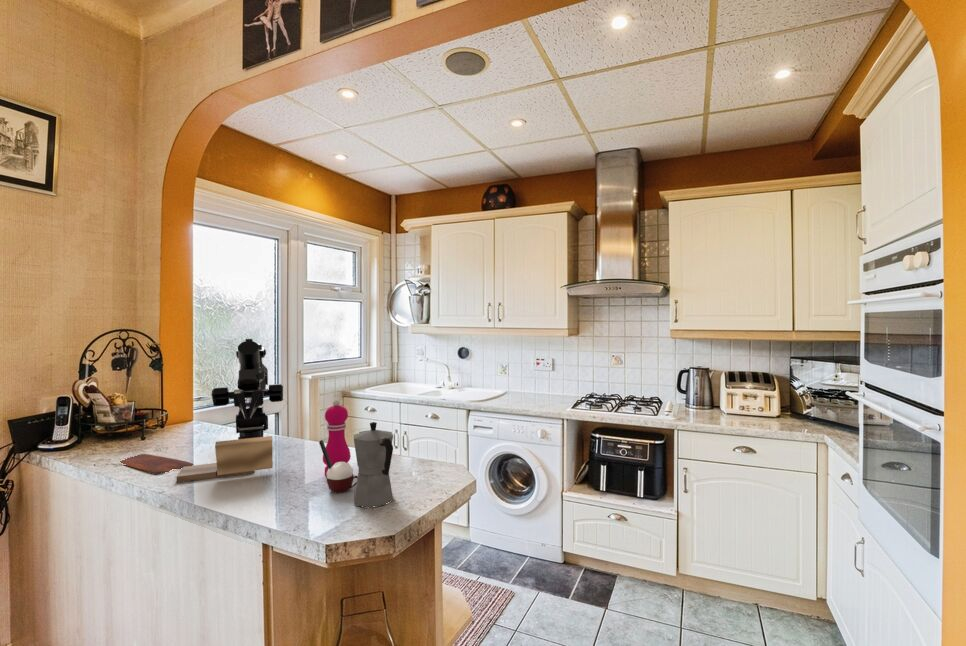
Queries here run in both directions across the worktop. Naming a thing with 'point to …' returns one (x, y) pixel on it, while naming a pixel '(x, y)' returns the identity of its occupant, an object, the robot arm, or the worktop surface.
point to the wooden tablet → (154, 463)
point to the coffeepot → (373, 467)
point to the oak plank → (244, 455)
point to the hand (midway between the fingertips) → (247, 418)
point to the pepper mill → (336, 435)
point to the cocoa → (338, 473)
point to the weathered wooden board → (202, 472)
